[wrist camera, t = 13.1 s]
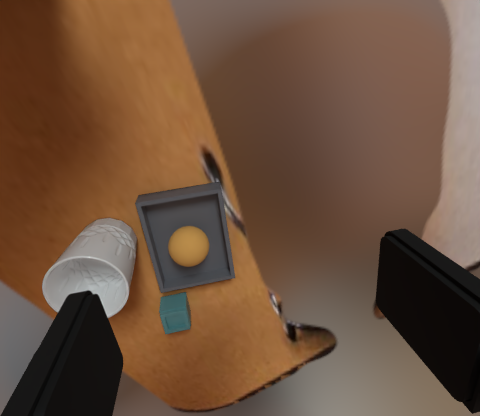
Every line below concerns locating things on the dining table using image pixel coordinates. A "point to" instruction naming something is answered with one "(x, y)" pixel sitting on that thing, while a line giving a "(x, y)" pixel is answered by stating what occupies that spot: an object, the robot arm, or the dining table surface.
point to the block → (175, 313)
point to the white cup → (95, 266)
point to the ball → (188, 246)
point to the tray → (179, 215)
